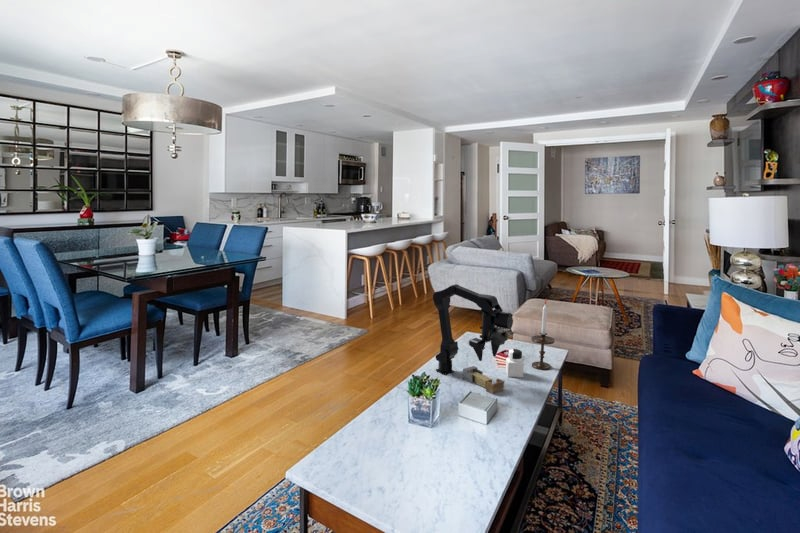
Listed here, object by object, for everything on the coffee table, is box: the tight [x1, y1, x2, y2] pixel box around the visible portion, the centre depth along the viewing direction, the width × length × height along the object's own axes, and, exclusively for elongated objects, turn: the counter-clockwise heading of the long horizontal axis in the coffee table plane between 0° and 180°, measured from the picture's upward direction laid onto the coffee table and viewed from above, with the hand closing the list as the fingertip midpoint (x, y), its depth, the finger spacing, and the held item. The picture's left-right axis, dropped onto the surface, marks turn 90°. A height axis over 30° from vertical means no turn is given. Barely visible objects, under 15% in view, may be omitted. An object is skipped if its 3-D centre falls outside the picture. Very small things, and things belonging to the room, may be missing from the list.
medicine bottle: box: [505, 348, 525, 378], centre depth 207 cm, size 7×7×12 cm
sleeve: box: [462, 365, 484, 384], centre depth 201 cm, size 6×7×5 cm
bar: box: [469, 370, 493, 389], centre depth 198 cm, size 13×4×3 cm, turn 33°
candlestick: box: [531, 298, 556, 371], centre depth 215 cm, size 11×11×35 cm
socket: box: [485, 378, 505, 395], centre depth 189 cm, size 4×7×4 cm, turn 123°
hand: (487, 358), depth 195 cm, fingers open, 9 cm apart
